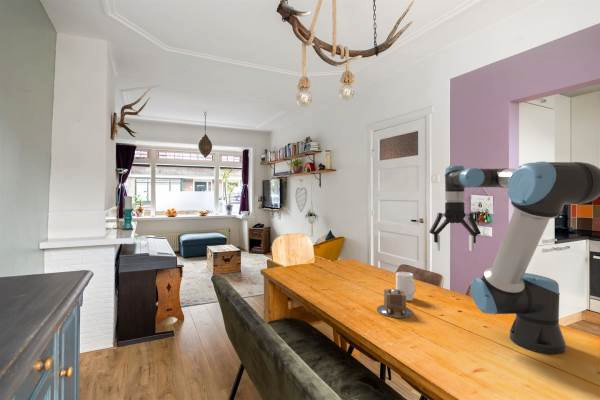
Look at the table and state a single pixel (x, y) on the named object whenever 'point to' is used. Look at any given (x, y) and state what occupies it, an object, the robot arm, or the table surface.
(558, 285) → the robot arm
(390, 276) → the table surface
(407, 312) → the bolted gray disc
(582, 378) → the table surface
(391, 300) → the collar
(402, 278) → the mug
